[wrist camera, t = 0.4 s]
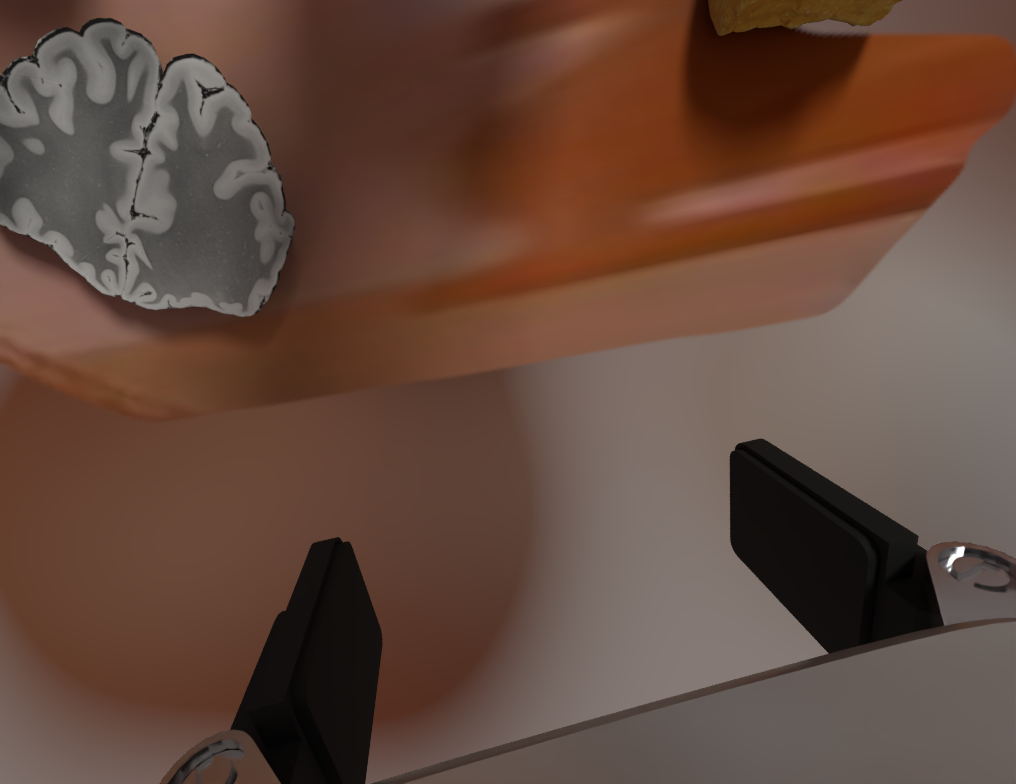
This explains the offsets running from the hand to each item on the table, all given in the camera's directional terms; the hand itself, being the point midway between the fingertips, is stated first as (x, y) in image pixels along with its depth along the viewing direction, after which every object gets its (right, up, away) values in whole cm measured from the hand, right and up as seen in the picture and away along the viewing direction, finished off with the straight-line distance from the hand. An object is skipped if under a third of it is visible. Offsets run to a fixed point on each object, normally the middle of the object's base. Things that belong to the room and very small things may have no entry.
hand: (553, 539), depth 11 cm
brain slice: (-26, +19, +23) cm, 39 cm away
